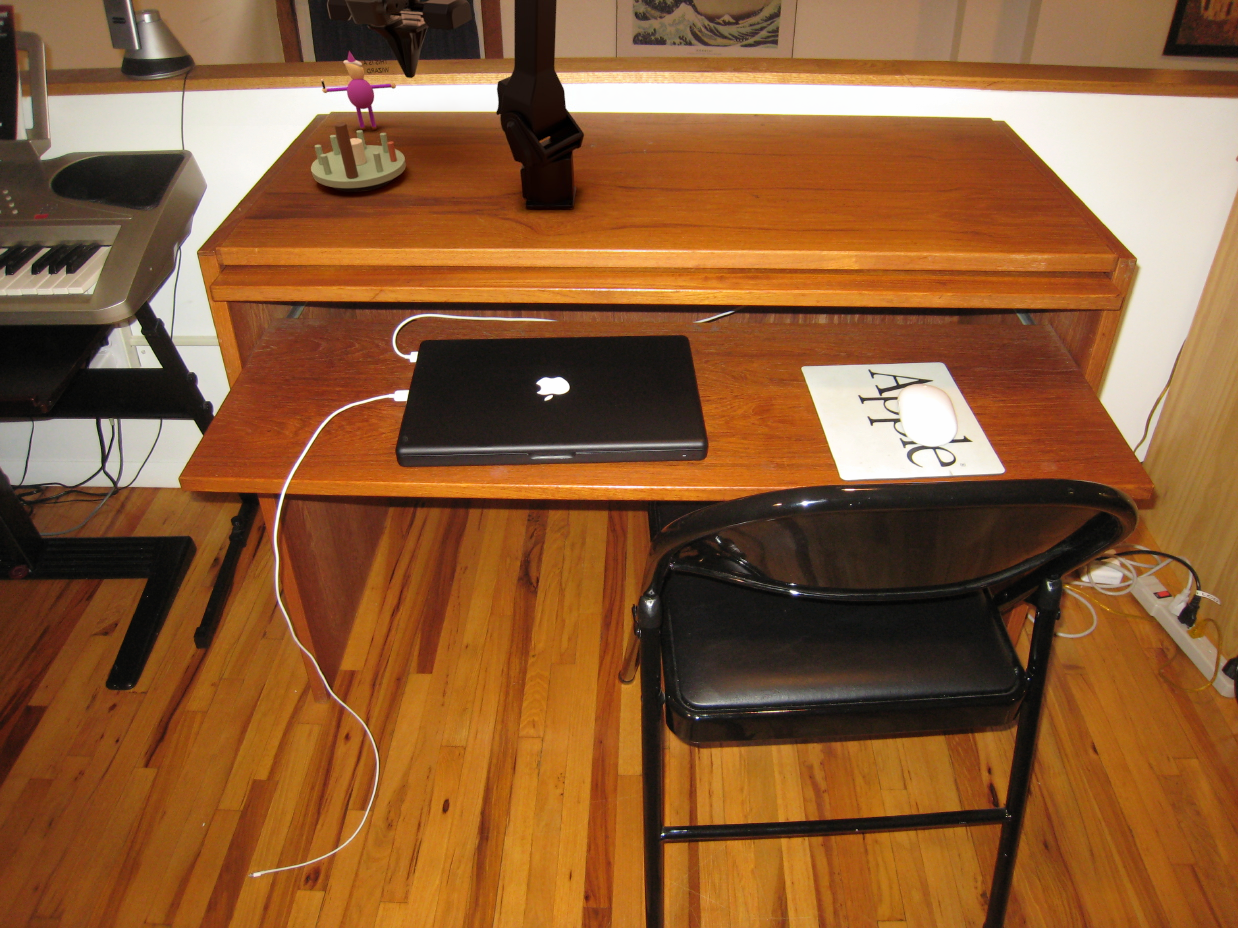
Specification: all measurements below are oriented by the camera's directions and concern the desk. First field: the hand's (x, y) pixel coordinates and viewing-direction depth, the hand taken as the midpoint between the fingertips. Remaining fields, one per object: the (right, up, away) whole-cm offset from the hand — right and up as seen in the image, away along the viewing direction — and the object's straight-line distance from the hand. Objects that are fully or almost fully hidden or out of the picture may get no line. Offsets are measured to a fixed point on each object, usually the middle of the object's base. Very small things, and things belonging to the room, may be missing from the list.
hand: (410, 77), depth 114 cm
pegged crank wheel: (-8, -12, +3) cm, 15 cm away
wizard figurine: (-11, 0, +18) cm, 21 cm away
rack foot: (-8, -13, +4) cm, 16 cm away
